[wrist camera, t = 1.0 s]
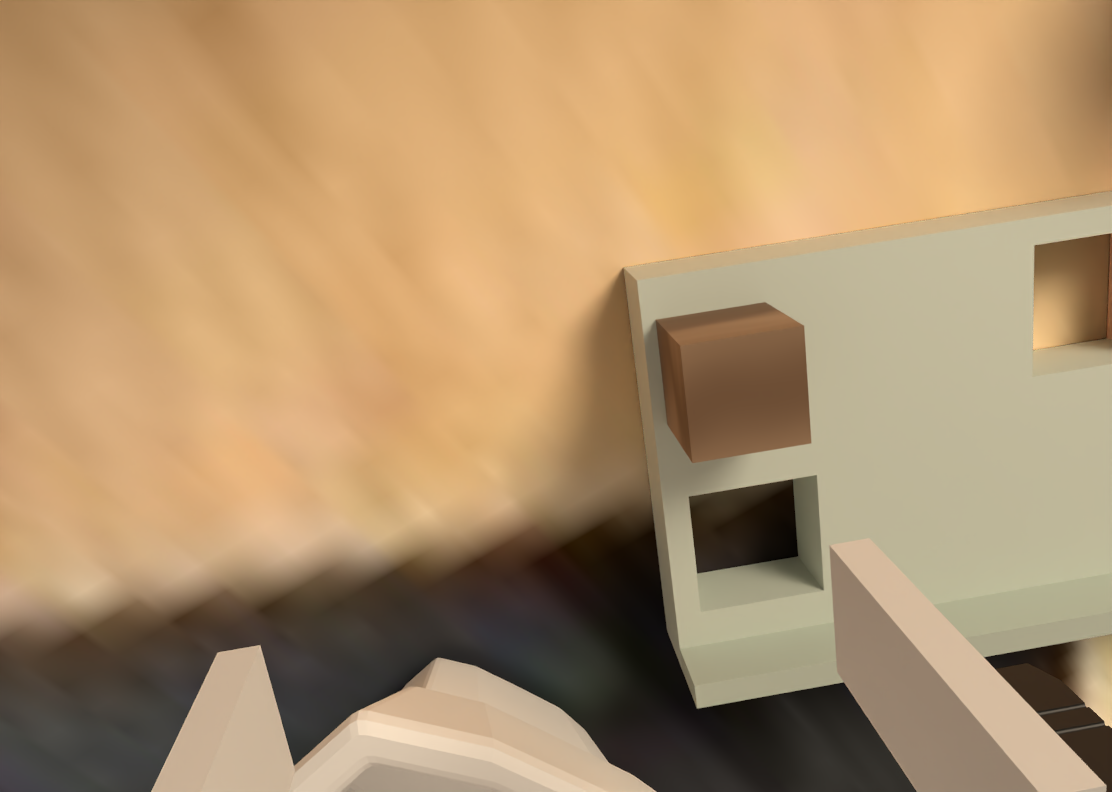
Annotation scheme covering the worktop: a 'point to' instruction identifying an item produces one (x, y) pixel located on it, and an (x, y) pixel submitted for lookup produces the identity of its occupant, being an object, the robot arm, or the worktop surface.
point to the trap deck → (896, 443)
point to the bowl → (460, 742)
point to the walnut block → (734, 381)
